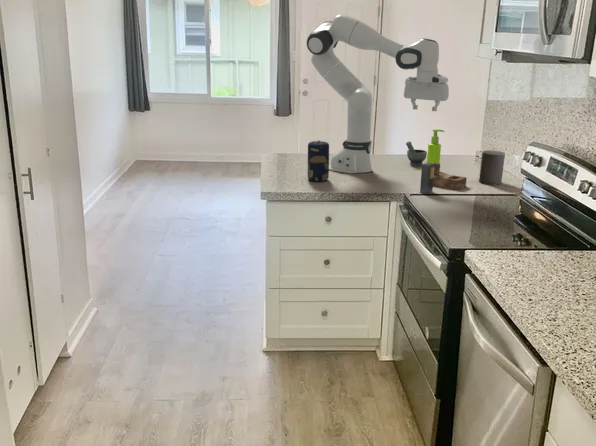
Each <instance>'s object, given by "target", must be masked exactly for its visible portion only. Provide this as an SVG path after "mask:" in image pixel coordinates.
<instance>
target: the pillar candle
mask: <svg viewBox="0 0 596 446" xmlns="http://www.w3.org/2000/svg"><path fill="white" fill-rule="evenodd" d="M505 157H506V153H505V152H504V151H500V150H495V149H493V150H492V149H491V150H482V153H481V161H480V168H479V169H480V171H479V178H478V179H479V181H478V182H479V184H483V185H488V186H489V185H490V186H499V185H501V184H502V182H503V181H502V180H503V179H502V178H503V175H504V174H503V172H504V163H505Z"/></svg>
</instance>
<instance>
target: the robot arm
mask: <svg viewBox="0 0 596 446" xmlns="http://www.w3.org/2000/svg"><path fill="white" fill-rule="evenodd" d="M338 42H343V43H344V44H347V45H349V46H351V47H354V48H356V49H359V50H364V51H366V50H367V51H376V52H380V53H383V54H385V55H387V56H389V57H391V58H394V59H395V63H396V66H397V67H399V68H400V69H402V70H404V71H405V70H406V71H407V70H414V69H416V77H415V76H414V77H412V76H408V77H407V78H406V79H405V81H404V85H405V87H404V91H403V97H404V98H405V99H410V102H411V105H412V110H418V107H419V105H418V104H416V102H417V100H424V101H426V100H427V101H433V102H434V103H435V105H434V106H432V107H431V111H432V112H437V111H438V106H439V105H440V104H441V102H445V101H447V100H449V90H450V89H449V85H448V82H449V78H448V76H444V75H443V74H439V73H438V72H439V71H438V69H439V68H438V64H439V60H440V47H439V46H440V45H439V43H438V42H437V41H436V40H435V39H431V38H421V39H419V40H418V41H416V42H415V43H412V44H409V45H403V44H400V43H398V42H395V41H393V40H392V39H389V38H387V37H386V36H383V35H382V34H380V33H379V32H378V31H377V30H376V29H374V28H373V27H371V26H370V25H368V24H366V23H365V22H364V21H362V20H359V19H357V18H354V17H351V16H348V15H345V14H338V15H336V16H335V17H333V19H332V20H328V21H327V20H326V21H324V22H322V24H320V25H318V26H316V28H315V29H313V31H312V32H311V33H310V34H309V35H308V37H307V39H306V48H307V50H308V51H309V52H310V53H311V54H312V55H311V59H310V61H311V63H312V65H313V67H314V68H315V70H316V71H317V72H318V74H319V75H320V76H321V77H322V78H323V79H324V80H325V81H326V83H327V84H328V85H329V86H330V87H331V88H332V89H333V90H334V91H335V92H337V94H338V95H340V97H342V98H343V99H344V101H346V103H347V130H346V131H347V135H346V139H345V140H344V141H343V142H342V144H341V145H342V146H343V147H342V148H341V149H340V150H338V151H337V152H336V153H334V154H333V155H332V157H331V160H330V162H329V171H332V172H340V173H345V174H359V173H360V174H362V173H368V172H371V171H373V166H372V161H371V152H372V141H371V134H372V133H371V131H372V130H371V129H372V105H373V97H372V93H371V91H370V90H369V89H368V88H367V86H366V85H364V84H363V83H362V82H361V81H360V80H359V78H358V77H356V76H355V74H354V73H352V72H351V70H350V69H349V68H348V67H347V66H346V65H345V64H344V63H343V62H342V61H341V60H340V58H339V57H337V55H336V54H335V52H334V49H335V48H336V47H337V45H338Z"/></svg>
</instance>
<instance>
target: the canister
mask: <svg viewBox="0 0 596 446" xmlns="http://www.w3.org/2000/svg"><path fill="white" fill-rule="evenodd" d="M329 164H330V144H329V142H327V141H323V140H322V141H321V140H319V139H318V140H316V141H315V140H314V141H310V142H308V143H307V179H308V180H310V181H313V182H325V181H327V180H328V179H329V176H330V174H329V171H330V170H329Z"/></svg>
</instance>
